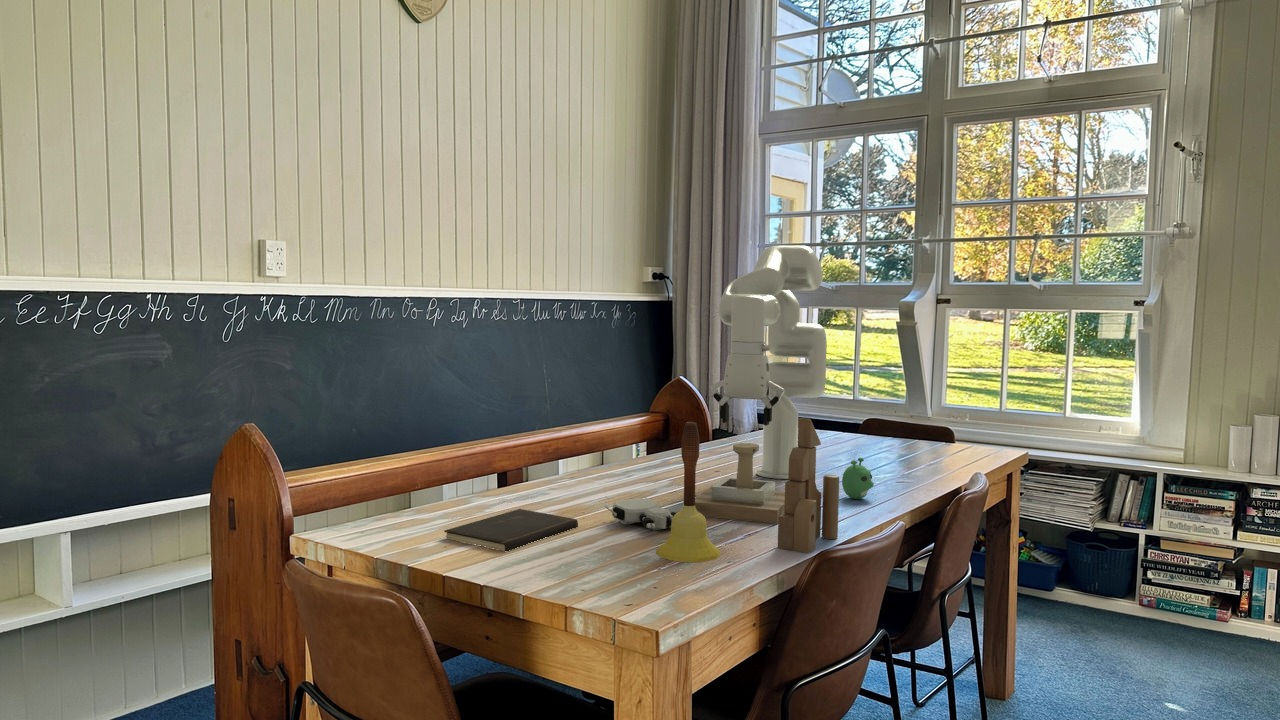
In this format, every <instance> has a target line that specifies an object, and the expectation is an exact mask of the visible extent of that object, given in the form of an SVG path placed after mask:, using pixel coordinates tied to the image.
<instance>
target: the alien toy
mask: <svg viewBox="0 0 1280 720" xmlns="http://www.w3.org/2000/svg"><path fill="white" fill-rule="evenodd" d="M864 461H865V459H864V458H863V457H858V458H857V460H855V459H853V460H851V461H850V464H851V465H849V466H847V467H846V469H845V470H844V471H843V474H842V479H841V485H842V488H843V491H844V493H845V494H846V496H848V497H849V498H850V499H854V500H860V499H863V498H865V497H867V496H868V495H867V494H868V491H869V490H870V489H872V488H873V487H874V484H875V483H874V482H873V481H872V479H873V476H872V472H871V469H868V468H867V467H866V466H864V465H862V462H864ZM858 462H859V463H858Z"/></svg>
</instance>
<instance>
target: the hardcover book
mask: <svg viewBox="0 0 1280 720" xmlns="http://www.w3.org/2000/svg"><path fill="white" fill-rule="evenodd" d="M576 527H579V522H578V519H576V518H571V517H568V516H560V515H555V514H550V513H545V512H539V511H534V510H530V509H529V510H527V509H522V508H518V509H515V510H511V511H508V512H507V511H506V512H504V513H500V514H497V515H495V516H490V517H487V518H482V519H479V520H476V521H473V522H469V523H466V524H465V523H464V524H462V525H459V526H458V525H457V526H455V527H451V528H447V529H444V531H443V532H444V533H446V534H445V537H446V538H445V539H446V540H448V539H451V540H450V541H452V540H456V541H455V542H457V541H461V542H460V543H462V542H465V543H464V544H466V543H470V544H469V545H471V544H476V545H481V546H486V547H489V548H488V549H490V548H494V549H498V550H497V551H499V550H503V551H502V552H504V551H508V552H510V551H509V550H511V551H513V550H512V549H514V550H516V549H515V548H517V547H519V548H521V547H520V546H522V547H524V546H523V545H525V546H527V545H526V544H528V543H531V542H534V541H537V540H540V539H543V538H545V537H549V536H552V535H554V536H556V535H555V534H557V535H559V534H558V533H560V534H562V533H561V532H563V533H565V532H564V531H566V532H568V531H567V530H569V531H571V530H570V529H572V528H575V529H577V528H576ZM572 530H573V529H572ZM552 537H553V536H552ZM549 538H550V537H549ZM543 540H544V539H543ZM540 541H541V540H540ZM537 542H538V541H537ZM534 543H535V542H534ZM531 544H532V543H531ZM476 545H475V546H476ZM528 545H529V544H528ZM494 549H493V550H494ZM517 549H518V548H517Z"/></svg>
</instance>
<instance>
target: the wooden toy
mask: <svg viewBox="0 0 1280 720" xmlns="http://www.w3.org/2000/svg"><path fill="white" fill-rule="evenodd" d="M821 445H822V442H821V440H820V437H819V435H818V432H817V431H816V428H815V426H814V423H813V421H812V419H810V418H807V417H804V418H802V417H798V443H797V447H794V448H792V451H791V454H790V456H789V471H788V479H787V481H785V483H784V491H785V501H784V513H785V514H783V515H780V516H779V517H778V525H777V548H778V549H781V550H787V551H794V552H799V553H804V554H809V553H811V552H813V551H815V550H816V539H818V538H819V537H822V538H823V539H826V540H836V539H837V538H838V536H839V535H838V534H839V505H840V504H839V503H840V501H839V500H840V477H839V475H836V474H825V475H823V477H822V480H823V481H822V482H823V483H822V491H819V489H818V487H817V484H816V472H817V469H816V466H817V447H818V446H821Z"/></svg>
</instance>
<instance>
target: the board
mask: <svg viewBox="0 0 1280 720" xmlns="http://www.w3.org/2000/svg"><path fill="white" fill-rule="evenodd" d="M784 501H785V490H784V491H783V490H775V495H773V496H772V497H771V498H770V499H769V500H768V501H767V502H766V503H765V504H764V505H762V504H751V503H741V502H731V501H720V500H712V486H711V487H709V488H708V489H706V490H705V491H703V492H702V493H699V495H697V496H695V507H696V510H697V511H698V512H699V513H701V514H702V515H703V516H704V517H705V518H716V519H727V520H737V521H745V522H754V523H755V522H757V523H764V524H775V525H777V524H778V517H779V516H780V515H783V514H785V513H784Z"/></svg>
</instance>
